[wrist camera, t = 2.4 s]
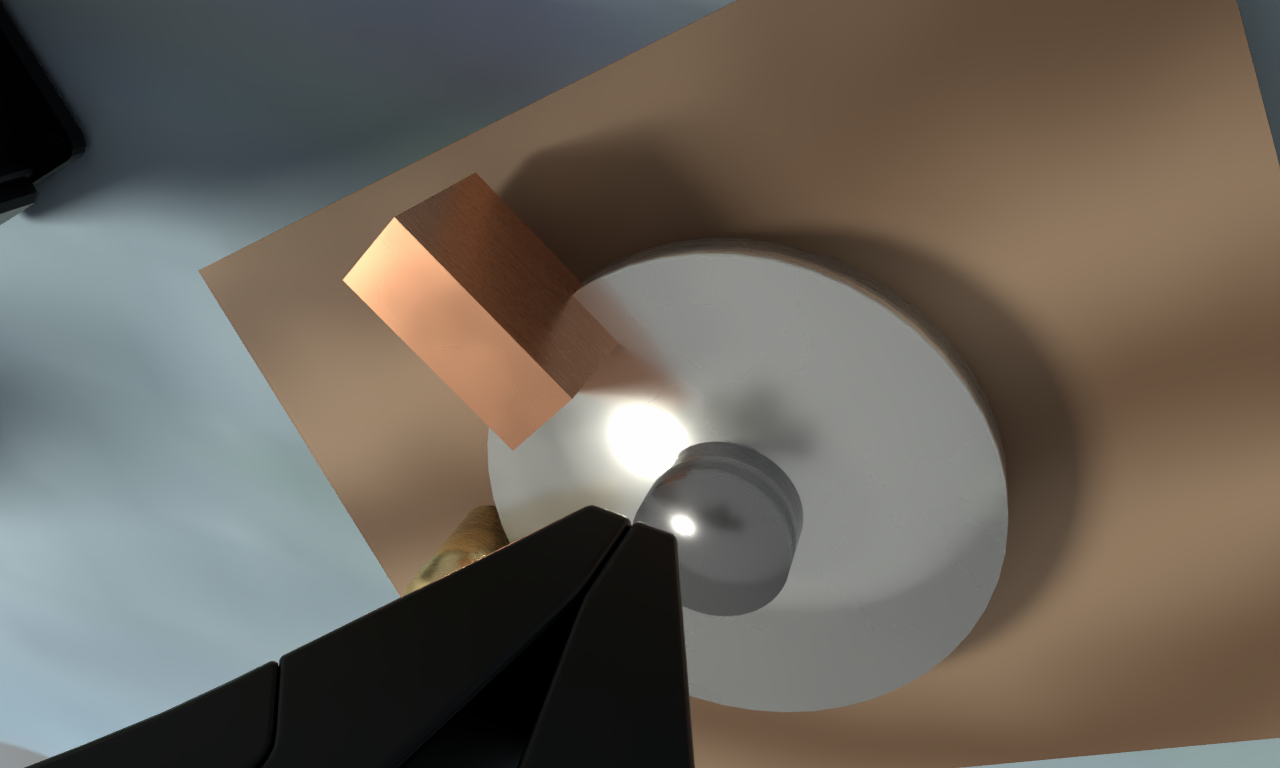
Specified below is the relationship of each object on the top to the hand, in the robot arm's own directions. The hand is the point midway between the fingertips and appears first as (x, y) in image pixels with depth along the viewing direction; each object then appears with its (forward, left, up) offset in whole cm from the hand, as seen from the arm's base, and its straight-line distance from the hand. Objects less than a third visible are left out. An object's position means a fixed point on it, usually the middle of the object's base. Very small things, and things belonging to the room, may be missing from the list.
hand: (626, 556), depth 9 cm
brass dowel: (+5, -11, -11) cm, 16 cm away
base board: (+5, -4, -12) cm, 14 cm away
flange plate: (+4, -4, -11) cm, 12 cm away
